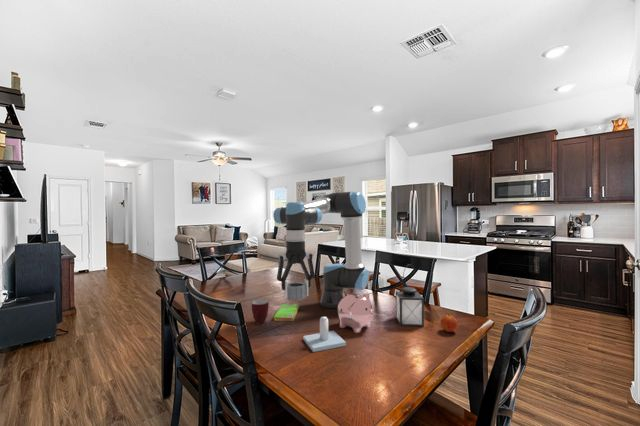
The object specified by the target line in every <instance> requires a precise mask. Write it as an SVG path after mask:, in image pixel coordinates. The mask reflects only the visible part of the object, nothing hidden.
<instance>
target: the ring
mask: <svg viewBox="0 0 640 426" xmlns="http://www.w3.org/2000/svg"><path fill="white" fill-rule="evenodd" d="M287 292H288V299H287V300H289V301H301V300H304V299H306V298H307V296H306V284H305V282H300V281H299V282H297V281H296V282H295V281H294V282H289V283H288V282H287Z"/></svg>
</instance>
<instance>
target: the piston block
mask: <svg viewBox="0 0 640 426" xmlns="http://www.w3.org/2000/svg"><path fill="white" fill-rule="evenodd" d="M302 336H303V341H304V342H305V344H306V345H307V347H308V348H310V350H311V351H312V352H313V353H315V352H321V351H322V352H323V351H327V350H331V349H336V348H341V347H346V346H347V341H345V340H344V339H343V338H342V337H341V336H340V335H339V334H338V333H337V332H336V331H335V330H329V318H328V317H327V316H321V317H320V318H319V333H318V332H317V333H312V334H308V335H302Z"/></svg>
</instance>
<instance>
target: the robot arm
mask: <svg viewBox="0 0 640 426" xmlns="http://www.w3.org/2000/svg"><path fill="white" fill-rule="evenodd" d="M366 208H367V204H366V200H365V197H364V195H363V193H361V192H360V191H345V192H343V191H342V192H341V191H340V192H339V191H338V192H332V193H328V194H325V195H321V196H319V197H317V198H316V199H314V200H310V201H305V202H302V201H301V202H300V201H298V202H297V201H296V202H295V201H294V202H293V201H292V202H287V203H286V204H285V207H284V206H281V207H277V208H275V210H274V211H273V215H272V216H273V220H274V222H275V223H277V224H281V225H286V228H285V230H286V231H285V233H286V235H285V238H286V240H287V241H286V242H285V243H286V252H285V253H284V254H282V255H281V254H279V255H278V261H279V262H278V268H277V275H276V280H277V282H278V281H279V282H281V290H282V291H283V298H284V299H285V300H289V299H288V292H287V284H288V281H287V278H288V275H289V274H290V270H291V268H292V266H293V265H296V264H298V265H300V266H301V269H302V271H303V274H304V276H305V278H304V283H305V284H306V297H309V288H311V280H312V279H313V278H315V277H316V275H315V269H314V265H313V256H314V255H313V254H312V253H310V252H308V253H306V241H305V239H306V230H305V229H306V227H305V226H307V225H316V224H319V223H320V222H321V221H322V218H323V214H324V215H325V214H340V218H341V219H342V220H343V228H344V229H343V230H344V231H343V232H344V246H345V247H344V249H345V264H344V263H339V262H338V263H331V264H326V265H325V266H323V269H322V270H323V271H322V275H323V276H322V281H323V288H322V289H323V291H322V294H321V297H320V305H321V306H322V307H324V308H329V309H338V305H339V302H340V301H341V299H342V298H343V294H342V293H344V295H345V291H344V289H348V290H354V291H363V290H365V289H366V288H367V285H368V284H369V280H370V272H369V270H368V269H367V268H365V264H364V263H363V261H362V246H361V245H362V244H361V243H362V242H361V239H362V238H361V223H360V220H361V218H362V217H363V214H364V213H365V211H366ZM305 258H306V259H307V264H308V268H307V266H306V263H305V261H304V260H305ZM286 259H287V260H288V261H287V263H286V266H285V269H284V261H285V260H286ZM283 269H284V272H283ZM308 270H309V271H308Z"/></svg>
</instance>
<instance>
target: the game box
mask: <svg viewBox="0 0 640 426" xmlns="http://www.w3.org/2000/svg"><path fill="white" fill-rule="evenodd" d="M298 311H299V304H295V303H294V304H293V303H292V304H291V303H290V304H289V303H287V304H286V303H283V304H280V306H279V309H278V310H277V311H276V313H275V315H273V321H274V322H275V321H276V322H294V319H295V318H296V316H297V313H298Z"/></svg>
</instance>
